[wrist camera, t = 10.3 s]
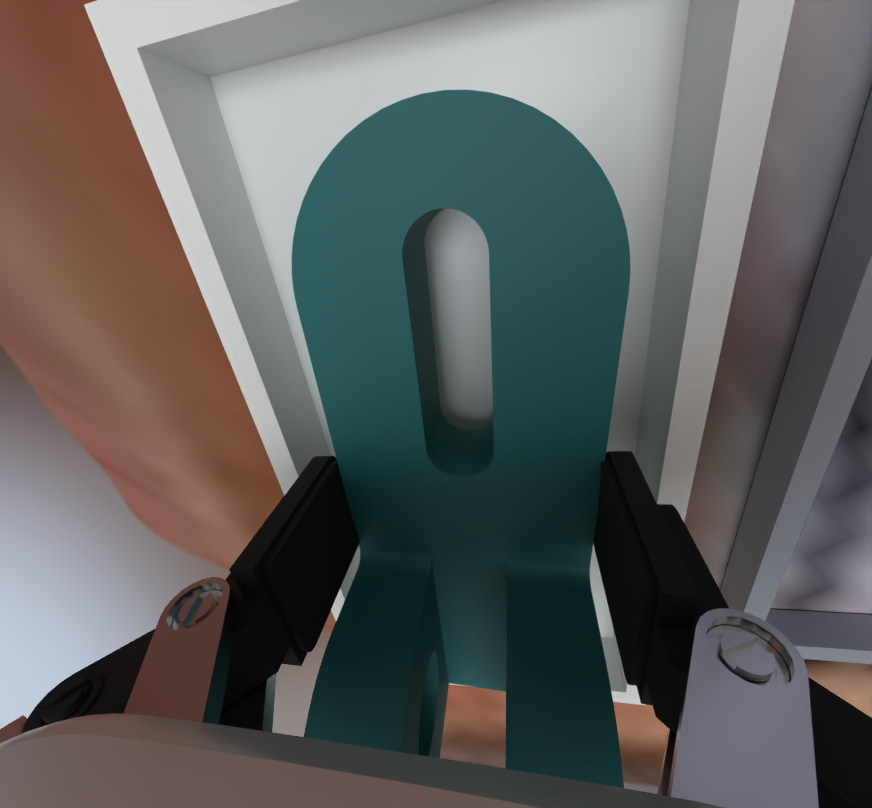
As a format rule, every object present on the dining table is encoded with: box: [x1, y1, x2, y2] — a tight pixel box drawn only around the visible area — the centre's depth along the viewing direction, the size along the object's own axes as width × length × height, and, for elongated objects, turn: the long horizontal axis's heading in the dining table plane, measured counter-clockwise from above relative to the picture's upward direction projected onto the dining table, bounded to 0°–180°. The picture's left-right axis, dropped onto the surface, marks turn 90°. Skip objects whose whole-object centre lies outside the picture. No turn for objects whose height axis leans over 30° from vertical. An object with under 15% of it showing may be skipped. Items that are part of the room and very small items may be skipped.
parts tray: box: [84, 0, 795, 705], centre depth 13 cm, size 13×24×3 cm, turn 8°
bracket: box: [292, 90, 631, 788], centre depth 9 cm, size 18×7×8 cm, turn 5°
